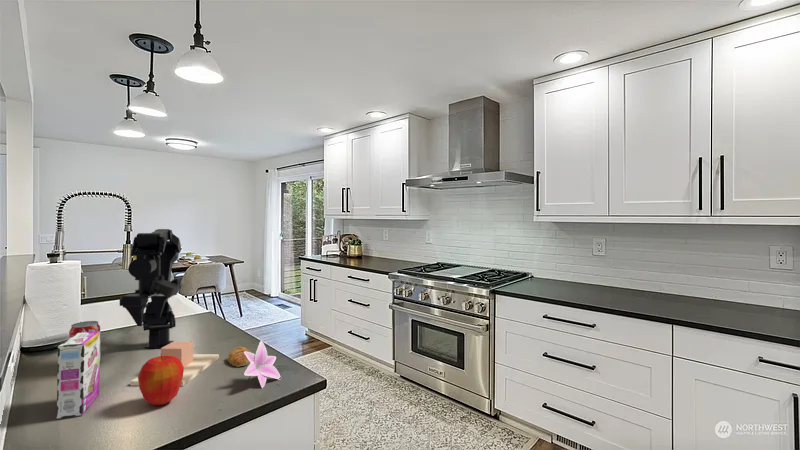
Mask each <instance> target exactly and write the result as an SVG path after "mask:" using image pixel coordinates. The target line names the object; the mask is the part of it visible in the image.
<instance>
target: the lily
mask: <svg viewBox="0 0 800 450" xmlns="http://www.w3.org/2000/svg"><path fill="white" fill-rule="evenodd" d="M258 343H259V344H258V346H257V349H256V352H255V353H253V352H251V351H250V352H247V351H244V354H245V355H246V357H247V358H248V360H249V361H250V362H249V364H248V365H247V368H245V371H244V372H243V373H244V374H243V375H244V376H245V377H248V379H249V380H250V379H251V377H256V376H257V379H258V382H259V384H260V387H261V389H264V388H265V386H266V383H267V378H272V379H276V380H280V379H279V378H280V377H281V375H280V372H279V370H278V369H277V368H276V367H275V365H274V363H275V362H276V359H277V356H275V355H268V351H267V348H266V346H265V343H264V342H263V341H262V340H260V341H259V342H258ZM281 378H282V377H281ZM248 379H247V380H248ZM263 387H264V388H263Z"/></svg>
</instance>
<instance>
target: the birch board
mask: <svg viewBox="0 0 800 450" xmlns="http://www.w3.org/2000/svg"><path fill="white" fill-rule="evenodd" d="M218 358H219V359H220V354H213V353H212V354H209V353H206V354H204V353H202V354H201V353H199V354H198V353H193V362H191V363H190V364H189V365H187V366H186V367H184V372H183V379H182V383H181V385H180V387H184V386H185V385H187V384H188V383H189V382H190V381H192V380H193V379H194V378H196V377H197V376H198V375H199V374H201V373H202V372H203V371H204V370H206V369H207V368H208V367H210V366H211V365H212V364H214V363H215V362H216V361H217V360H218ZM129 382H130V383H129V385H130V387H131V386H133V387H134V386H135V387H139V381H138V376H136V377H135V378H134V379H132V380H130V381H129Z"/></svg>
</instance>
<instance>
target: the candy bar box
mask: <svg viewBox="0 0 800 450" xmlns="http://www.w3.org/2000/svg"><path fill="white" fill-rule="evenodd" d="M100 352H101V330H100V331H96V332H84V333H77V334H76V335H74V336H73V337H71V338H70V339H69V338H68V339H67V340H66V341H63V343H61V344H60V345H58V346H57V372H56V373H57V376H56V377H57V378H56V379H57V380H56V382H57V386H56V391H57V392H56V420H62V419H68V418H69V419H70V418H74V417H75V418H77V417H81V416H83V415H84V414H85V412H87V410H88V409H89V408H90V406H91V405H92V404H93V402H94V401H95V400H96V399H97V398H98V396H99V395H100V371H101V370H100V369H101V368H100V367H101V365H100V363H101V360H100Z"/></svg>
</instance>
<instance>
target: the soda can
mask: <svg viewBox="0 0 800 450" xmlns="http://www.w3.org/2000/svg"><path fill="white" fill-rule="evenodd" d="M96 331H100V332H101V326H100V325H99V321H97V320H87V321H80V322H76V323H73V324H71V327H70V329H69V330H68V333H69V334H68V336H69V338H68V339H70V338H71V337H73V336H74V335H76V334H77V333H84V332H96ZM101 356H102V355H101V351H100V361H101V359H102V357H101Z"/></svg>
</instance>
